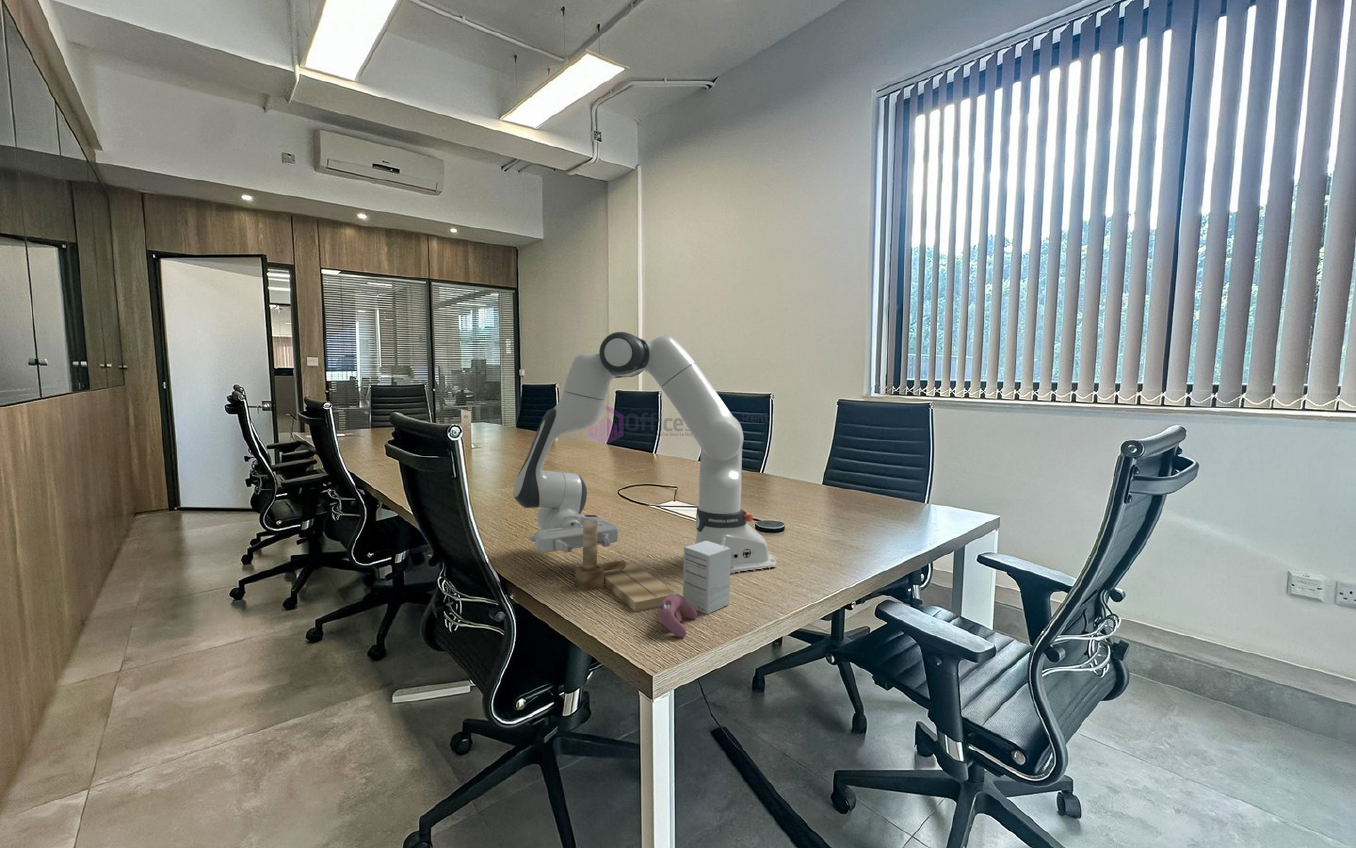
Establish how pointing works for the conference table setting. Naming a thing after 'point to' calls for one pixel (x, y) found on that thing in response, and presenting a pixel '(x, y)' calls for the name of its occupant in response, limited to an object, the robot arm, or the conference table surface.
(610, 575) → the board
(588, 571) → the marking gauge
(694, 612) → the video game controller
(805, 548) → the conference table surface
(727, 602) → the supplement box
